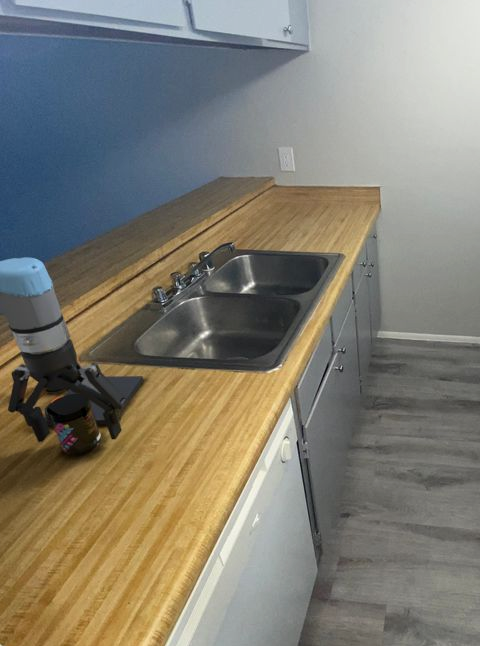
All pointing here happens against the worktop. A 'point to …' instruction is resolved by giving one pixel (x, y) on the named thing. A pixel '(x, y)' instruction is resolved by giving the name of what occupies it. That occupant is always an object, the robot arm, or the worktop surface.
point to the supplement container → (74, 424)
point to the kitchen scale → (122, 383)
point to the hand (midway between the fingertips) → (80, 436)
